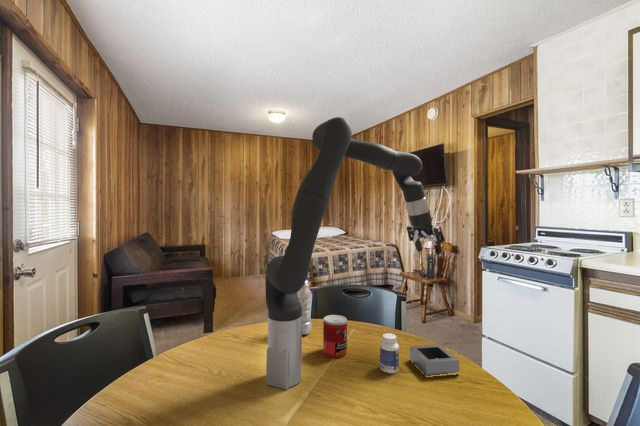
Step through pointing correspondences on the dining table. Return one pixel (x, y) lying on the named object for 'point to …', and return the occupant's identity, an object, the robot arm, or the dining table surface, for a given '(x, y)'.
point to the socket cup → (434, 360)
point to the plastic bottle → (305, 307)
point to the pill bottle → (389, 353)
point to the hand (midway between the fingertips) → (429, 252)
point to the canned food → (335, 336)
